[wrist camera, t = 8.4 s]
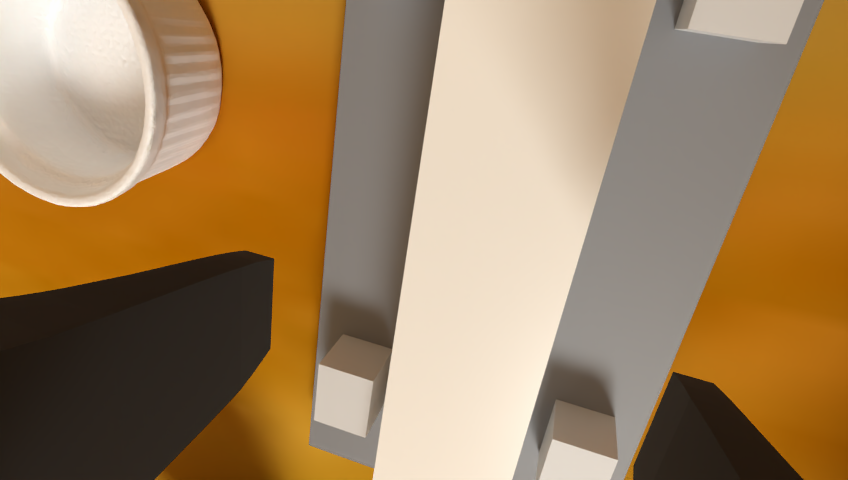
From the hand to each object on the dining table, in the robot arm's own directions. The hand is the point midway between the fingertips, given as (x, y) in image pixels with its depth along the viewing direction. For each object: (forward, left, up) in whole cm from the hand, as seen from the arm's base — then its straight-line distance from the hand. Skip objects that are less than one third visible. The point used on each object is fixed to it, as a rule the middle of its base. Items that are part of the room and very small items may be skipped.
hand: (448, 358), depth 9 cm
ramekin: (+2, +15, -10) cm, 18 cm away
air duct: (0, 0, -8) cm, 8 cm away
